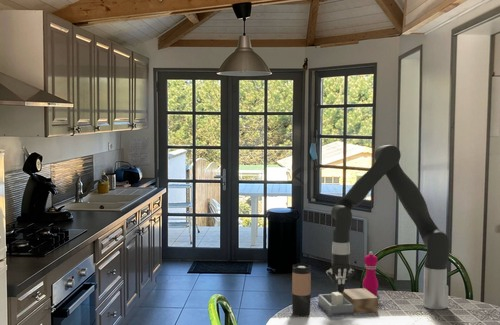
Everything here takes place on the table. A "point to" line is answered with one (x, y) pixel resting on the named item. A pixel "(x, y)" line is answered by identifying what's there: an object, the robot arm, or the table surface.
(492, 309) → the table surface
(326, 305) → the box
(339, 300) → the cream square block
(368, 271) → the pepper mill
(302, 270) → the travel mug
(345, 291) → the ledge
